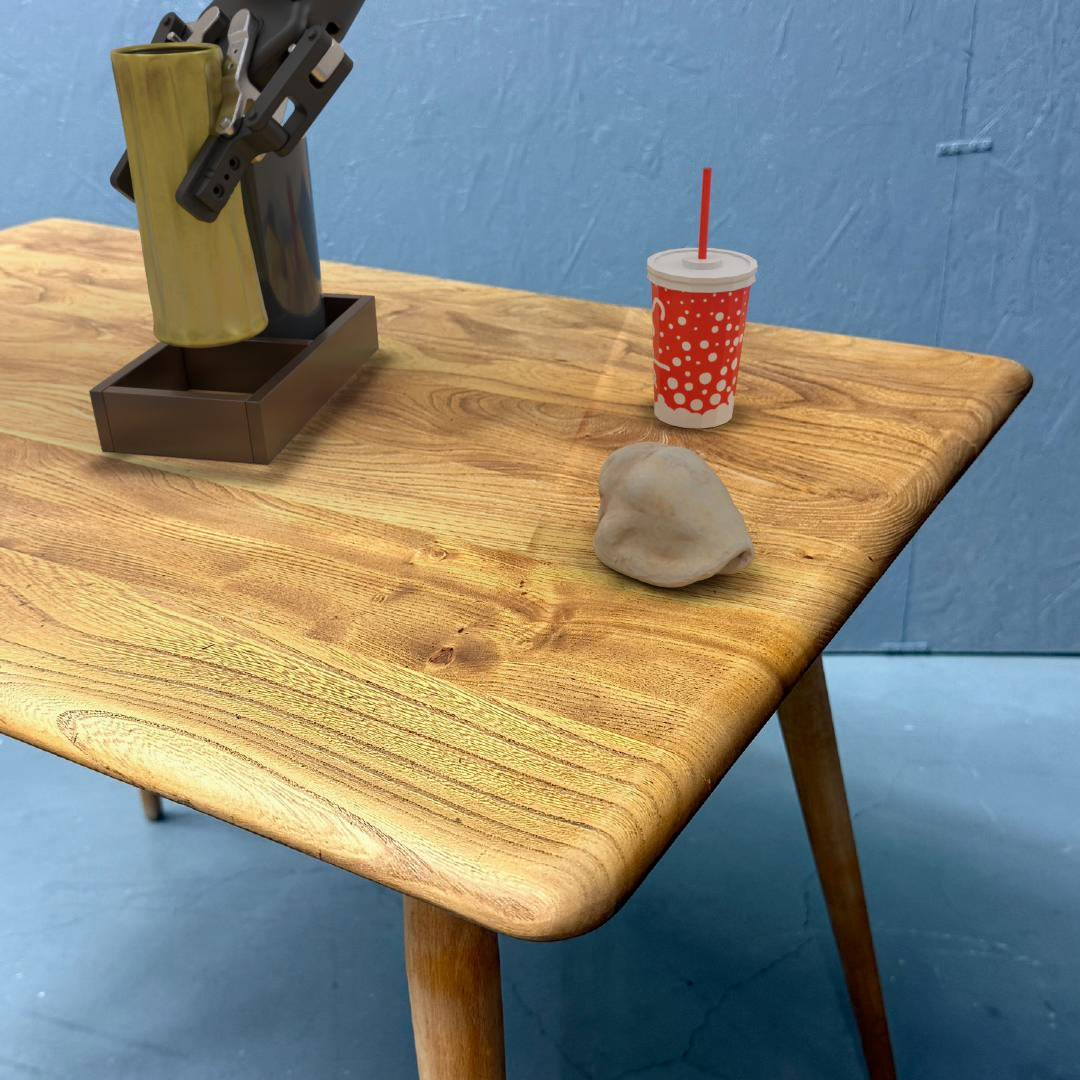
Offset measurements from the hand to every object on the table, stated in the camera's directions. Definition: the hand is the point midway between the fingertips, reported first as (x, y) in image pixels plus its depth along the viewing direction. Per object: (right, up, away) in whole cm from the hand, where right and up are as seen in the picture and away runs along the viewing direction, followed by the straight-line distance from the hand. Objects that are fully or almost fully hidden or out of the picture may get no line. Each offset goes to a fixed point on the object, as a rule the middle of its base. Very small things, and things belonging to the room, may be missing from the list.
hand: (159, 203), depth 58 cm
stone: (+25, -18, -5) cm, 31 cm away
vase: (+1, -6, +5) cm, 8 cm away
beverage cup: (+28, -10, +10) cm, 31 cm away
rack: (+2, -9, +11) cm, 15 cm away
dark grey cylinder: (+3, -6, +15) cm, 16 cm away
